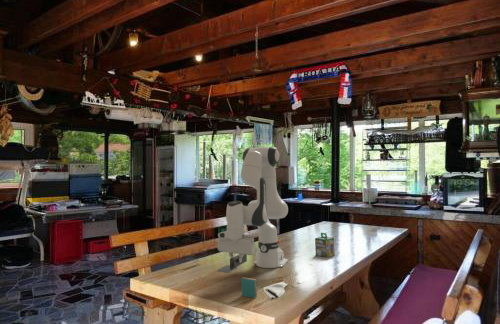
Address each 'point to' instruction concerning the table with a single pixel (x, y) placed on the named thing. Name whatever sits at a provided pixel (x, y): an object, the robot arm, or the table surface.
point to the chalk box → (324, 246)
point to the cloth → (275, 289)
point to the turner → (233, 264)
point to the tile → (249, 287)
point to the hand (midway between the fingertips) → (236, 261)
